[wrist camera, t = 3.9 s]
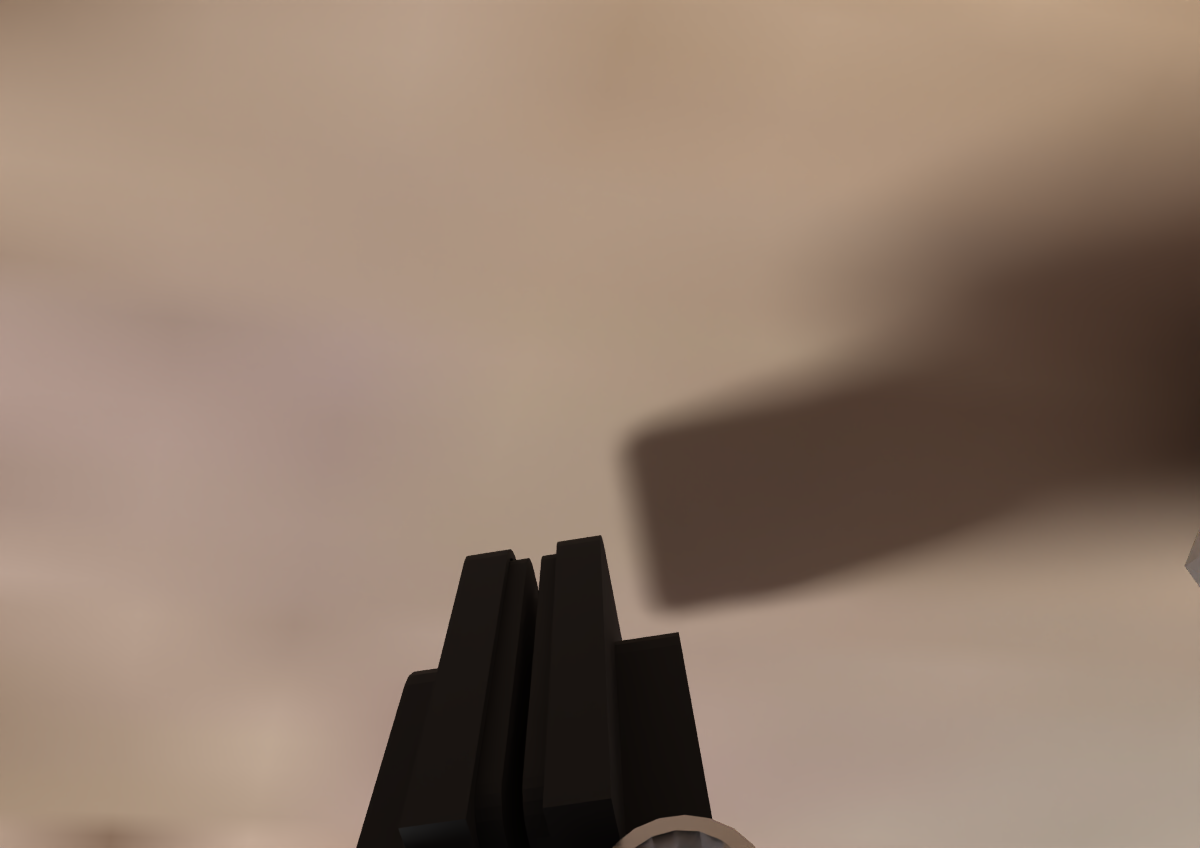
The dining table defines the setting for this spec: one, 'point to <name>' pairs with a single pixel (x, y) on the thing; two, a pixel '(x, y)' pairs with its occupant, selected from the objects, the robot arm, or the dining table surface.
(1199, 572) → the die
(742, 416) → the dining table surface
